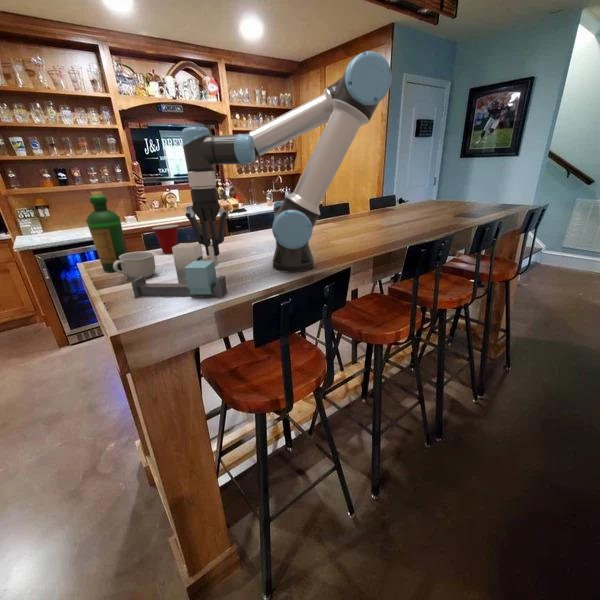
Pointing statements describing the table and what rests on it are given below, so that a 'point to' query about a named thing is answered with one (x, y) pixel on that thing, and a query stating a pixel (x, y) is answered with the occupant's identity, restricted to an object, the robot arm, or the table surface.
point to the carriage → (200, 276)
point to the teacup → (136, 264)
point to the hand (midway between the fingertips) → (214, 265)
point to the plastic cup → (167, 237)
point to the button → (204, 259)
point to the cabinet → (185, 257)
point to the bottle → (106, 232)
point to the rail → (174, 289)
